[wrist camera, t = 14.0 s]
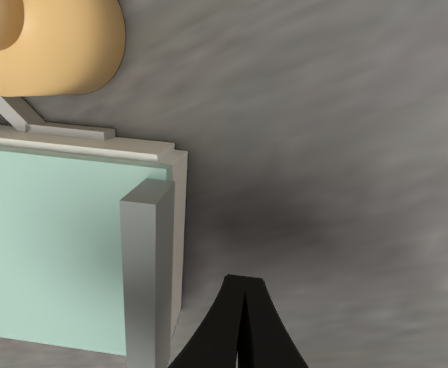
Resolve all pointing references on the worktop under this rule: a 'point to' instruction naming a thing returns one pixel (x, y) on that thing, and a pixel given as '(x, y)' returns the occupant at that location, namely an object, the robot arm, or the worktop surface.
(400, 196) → the worktop surface
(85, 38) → the domed oval button
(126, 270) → the lid
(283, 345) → the robot arm
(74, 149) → the housing
